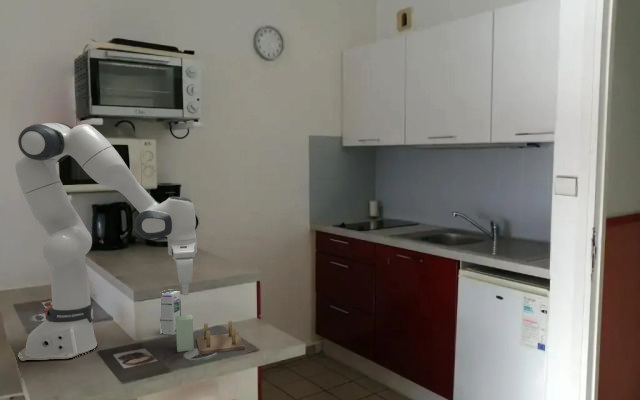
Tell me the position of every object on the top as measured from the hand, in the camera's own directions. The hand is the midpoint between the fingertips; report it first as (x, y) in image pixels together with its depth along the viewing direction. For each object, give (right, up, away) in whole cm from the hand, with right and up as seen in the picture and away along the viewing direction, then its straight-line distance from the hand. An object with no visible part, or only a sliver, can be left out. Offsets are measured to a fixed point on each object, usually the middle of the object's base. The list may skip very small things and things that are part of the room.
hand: (184, 291), depth 169 cm
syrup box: (-9, -18, +17) cm, 26 cm away
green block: (0, -19, +1) cm, 19 cm away
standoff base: (+10, -18, +5) cm, 21 cm away
